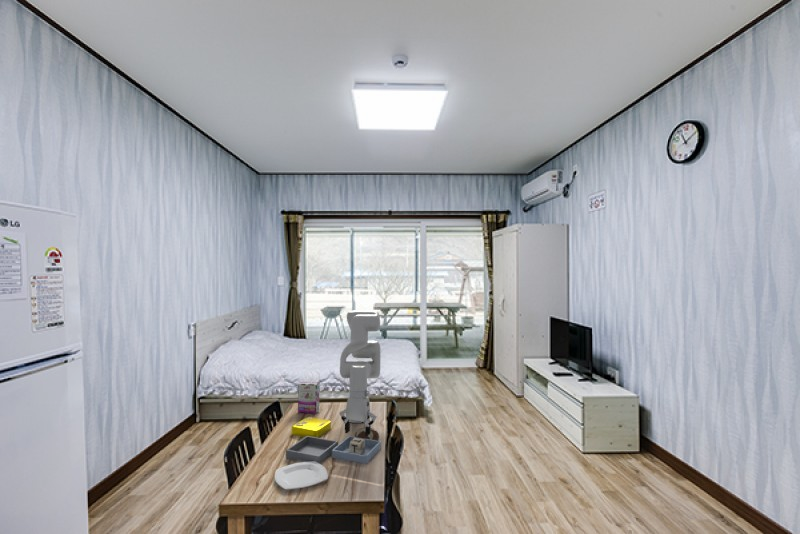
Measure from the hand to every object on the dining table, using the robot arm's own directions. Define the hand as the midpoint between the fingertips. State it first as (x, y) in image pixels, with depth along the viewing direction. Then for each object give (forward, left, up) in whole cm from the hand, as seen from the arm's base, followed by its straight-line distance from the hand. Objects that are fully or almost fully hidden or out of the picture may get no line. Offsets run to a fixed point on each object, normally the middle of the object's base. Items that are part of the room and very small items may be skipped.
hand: (357, 433), depth 168 cm
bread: (-17, -3, -9) cm, 19 cm away
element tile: (-15, -32, -10) cm, 37 cm away
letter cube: (0, 0, -8) cm, 8 cm away
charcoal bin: (+6, -18, -9) cm, 21 cm away
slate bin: (-1, 0, -9) cm, 9 cm away
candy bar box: (-39, -49, -9) cm, 63 cm away
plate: (+26, -11, -10) cm, 30 cm away
